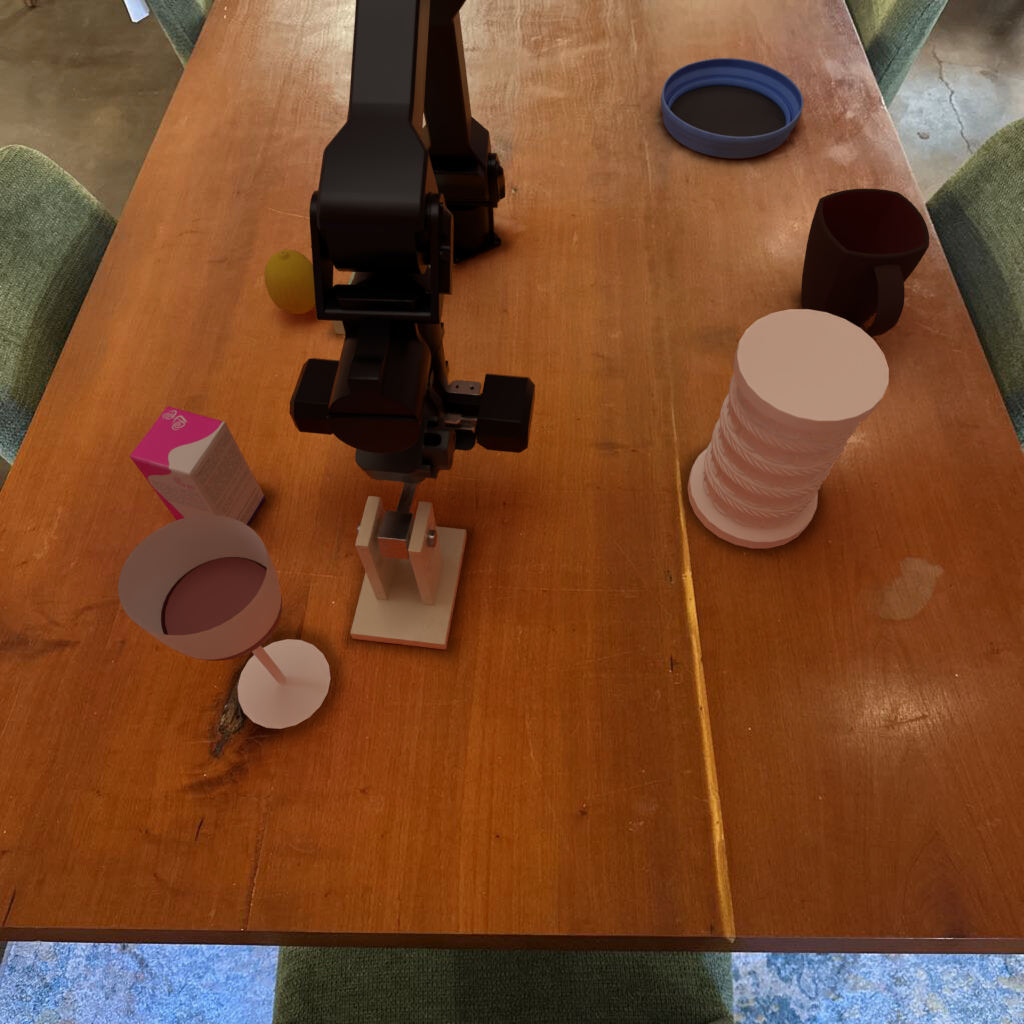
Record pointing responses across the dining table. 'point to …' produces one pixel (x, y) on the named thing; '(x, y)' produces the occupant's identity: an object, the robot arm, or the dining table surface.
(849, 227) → the cup
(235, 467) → the supplement box
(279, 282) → the lemon
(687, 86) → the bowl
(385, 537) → the lever
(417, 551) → the bracket
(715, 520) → the decorative container
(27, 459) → the dining table surface
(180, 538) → the wineglass
